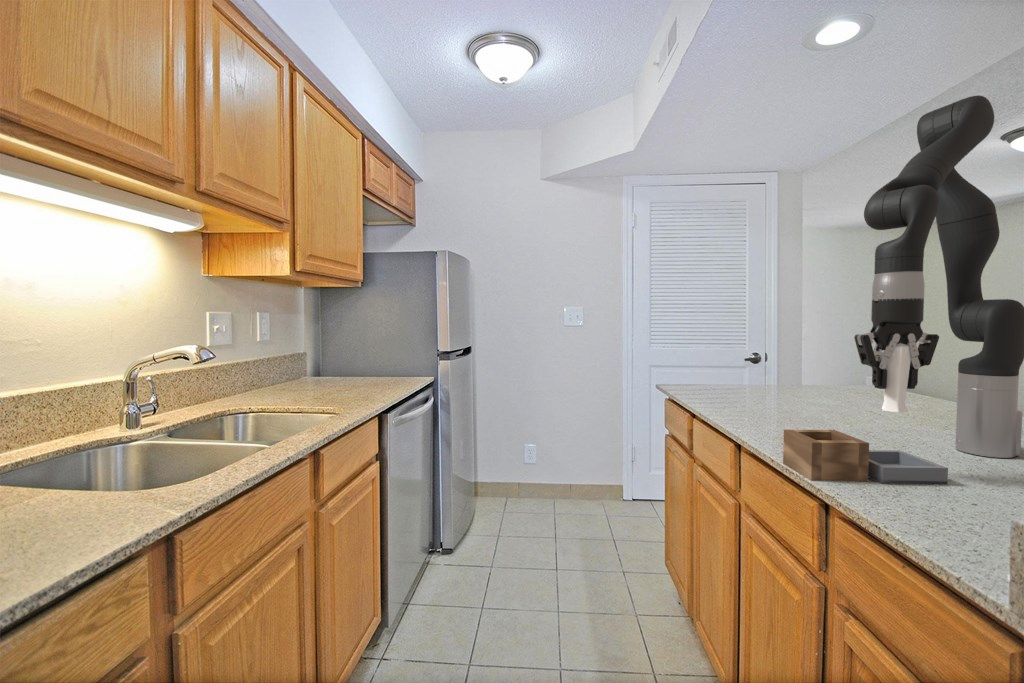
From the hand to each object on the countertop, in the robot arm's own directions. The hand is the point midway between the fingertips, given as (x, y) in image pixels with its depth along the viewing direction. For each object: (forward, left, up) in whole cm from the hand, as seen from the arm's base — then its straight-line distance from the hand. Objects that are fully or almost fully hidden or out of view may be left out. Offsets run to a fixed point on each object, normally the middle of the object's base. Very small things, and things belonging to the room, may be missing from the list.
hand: (894, 387), depth 88 cm
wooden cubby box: (+12, -1, -16) cm, 20 cm away
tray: (0, 0, -16) cm, 16 cm away
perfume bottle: (0, 0, -5) cm, 5 cm away
